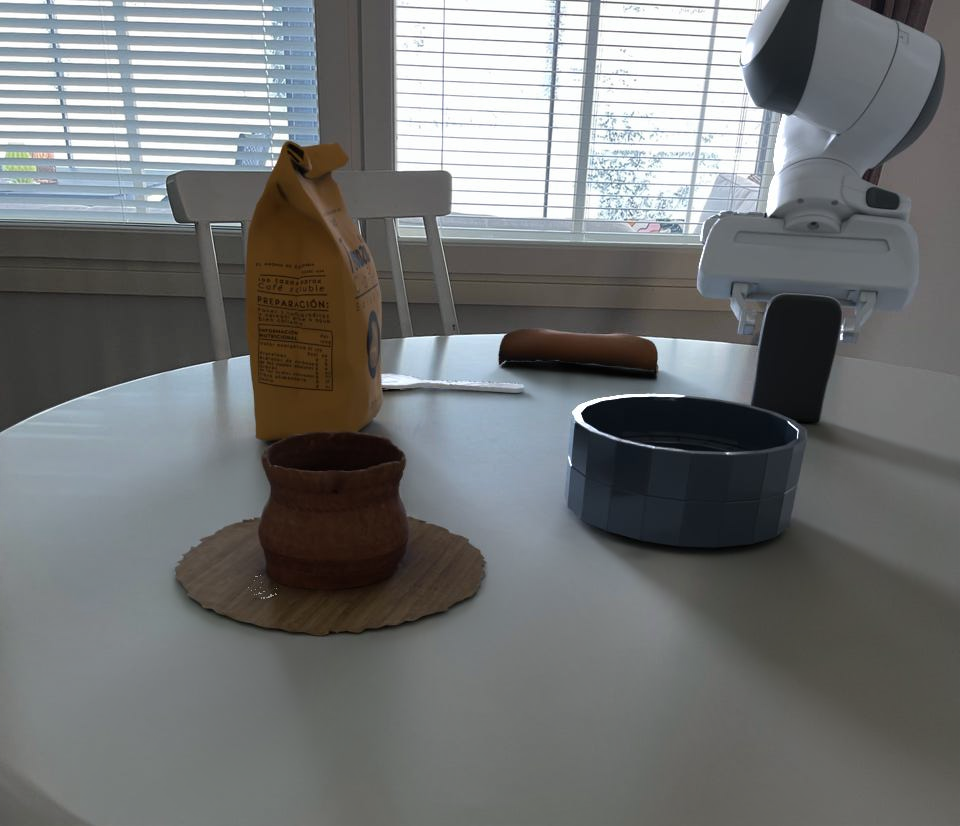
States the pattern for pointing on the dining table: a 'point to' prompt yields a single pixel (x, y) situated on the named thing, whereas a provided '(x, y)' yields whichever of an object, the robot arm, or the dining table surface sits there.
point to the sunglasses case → (579, 349)
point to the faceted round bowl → (683, 469)
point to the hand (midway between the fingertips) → (797, 335)
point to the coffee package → (311, 302)
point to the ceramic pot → (331, 545)
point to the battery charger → (796, 354)
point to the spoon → (446, 384)
